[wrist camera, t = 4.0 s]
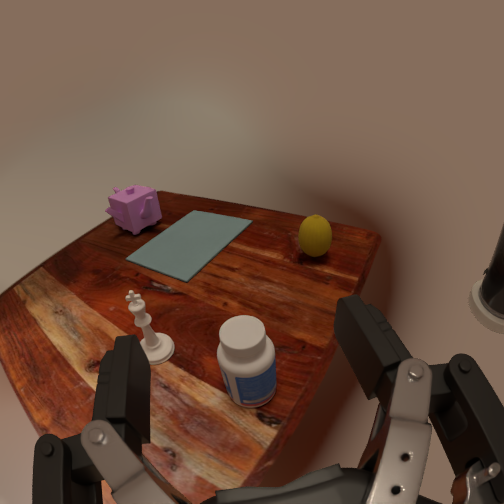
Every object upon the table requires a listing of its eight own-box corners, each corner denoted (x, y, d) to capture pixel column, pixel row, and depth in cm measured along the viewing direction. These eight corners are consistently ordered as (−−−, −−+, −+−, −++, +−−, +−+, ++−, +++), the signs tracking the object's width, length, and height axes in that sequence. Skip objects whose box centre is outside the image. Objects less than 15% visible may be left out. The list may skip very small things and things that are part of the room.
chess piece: (140, 337, 37) (115, 280, 32) (175, 333, 38) (154, 275, 32) (137, 366, 33) (106, 309, 27) (174, 363, 33) (149, 304, 28)
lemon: (318, 270, 47) (321, 226, 42) (291, 258, 50) (291, 216, 46) (336, 255, 50) (339, 213, 46) (310, 244, 53) (311, 204, 49)
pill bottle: (285, 379, 31) (285, 321, 25) (261, 416, 27) (254, 366, 22) (243, 362, 33) (233, 302, 28) (217, 395, 29) (199, 340, 24)
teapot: (98, 230, 66) (87, 194, 61) (139, 208, 75) (131, 175, 69) (134, 250, 56) (121, 207, 51) (181, 223, 65) (173, 182, 60)
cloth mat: (252, 222, 62) (252, 220, 62) (187, 282, 47) (186, 280, 46) (194, 211, 69) (193, 210, 69) (126, 260, 54) (125, 258, 54)
